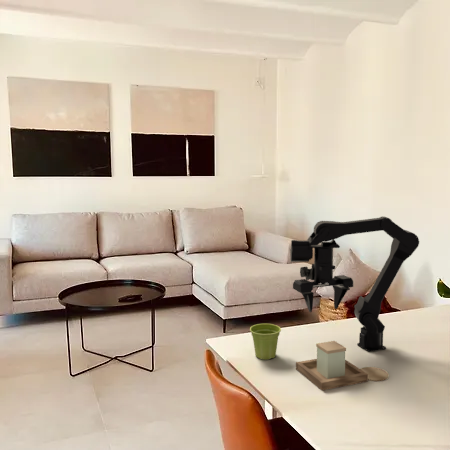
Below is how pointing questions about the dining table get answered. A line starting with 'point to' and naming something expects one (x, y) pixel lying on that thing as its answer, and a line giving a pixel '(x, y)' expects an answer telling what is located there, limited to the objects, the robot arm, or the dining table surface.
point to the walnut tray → (351, 377)
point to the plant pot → (265, 340)
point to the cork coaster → (375, 373)
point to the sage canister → (331, 359)
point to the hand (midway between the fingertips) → (323, 310)
